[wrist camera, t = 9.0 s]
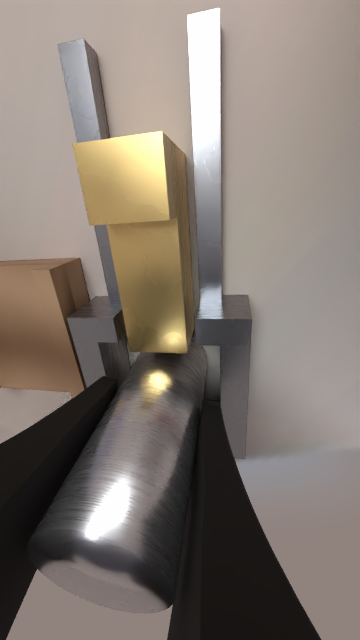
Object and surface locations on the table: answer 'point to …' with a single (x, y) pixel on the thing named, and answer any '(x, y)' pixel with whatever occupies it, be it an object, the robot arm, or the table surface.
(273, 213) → the table surface
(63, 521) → the peg
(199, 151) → the socket block
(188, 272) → the yellow stepped block
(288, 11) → the table surface
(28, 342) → the board
